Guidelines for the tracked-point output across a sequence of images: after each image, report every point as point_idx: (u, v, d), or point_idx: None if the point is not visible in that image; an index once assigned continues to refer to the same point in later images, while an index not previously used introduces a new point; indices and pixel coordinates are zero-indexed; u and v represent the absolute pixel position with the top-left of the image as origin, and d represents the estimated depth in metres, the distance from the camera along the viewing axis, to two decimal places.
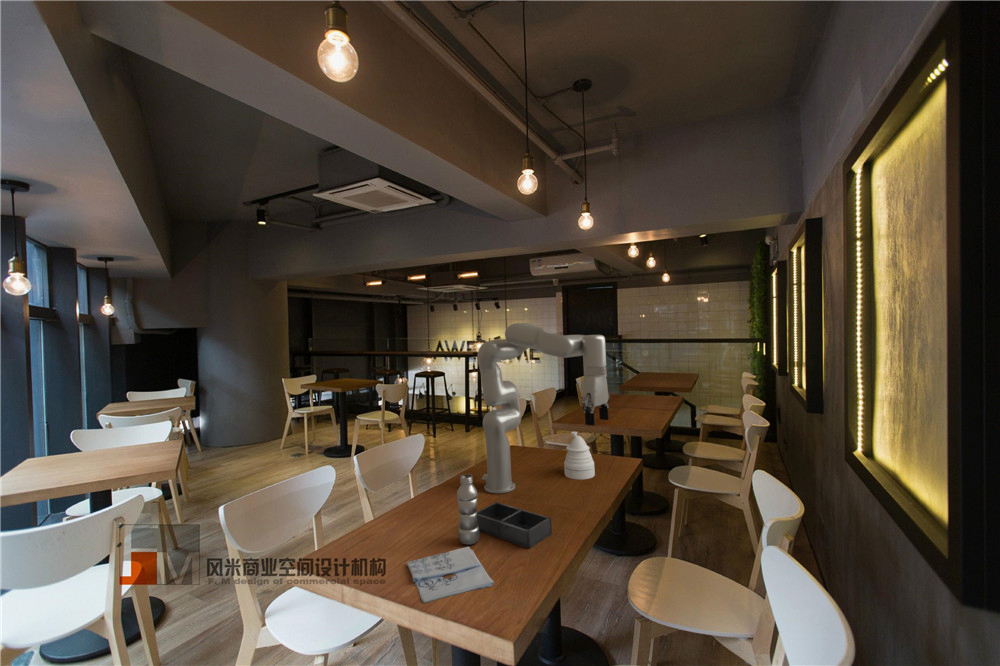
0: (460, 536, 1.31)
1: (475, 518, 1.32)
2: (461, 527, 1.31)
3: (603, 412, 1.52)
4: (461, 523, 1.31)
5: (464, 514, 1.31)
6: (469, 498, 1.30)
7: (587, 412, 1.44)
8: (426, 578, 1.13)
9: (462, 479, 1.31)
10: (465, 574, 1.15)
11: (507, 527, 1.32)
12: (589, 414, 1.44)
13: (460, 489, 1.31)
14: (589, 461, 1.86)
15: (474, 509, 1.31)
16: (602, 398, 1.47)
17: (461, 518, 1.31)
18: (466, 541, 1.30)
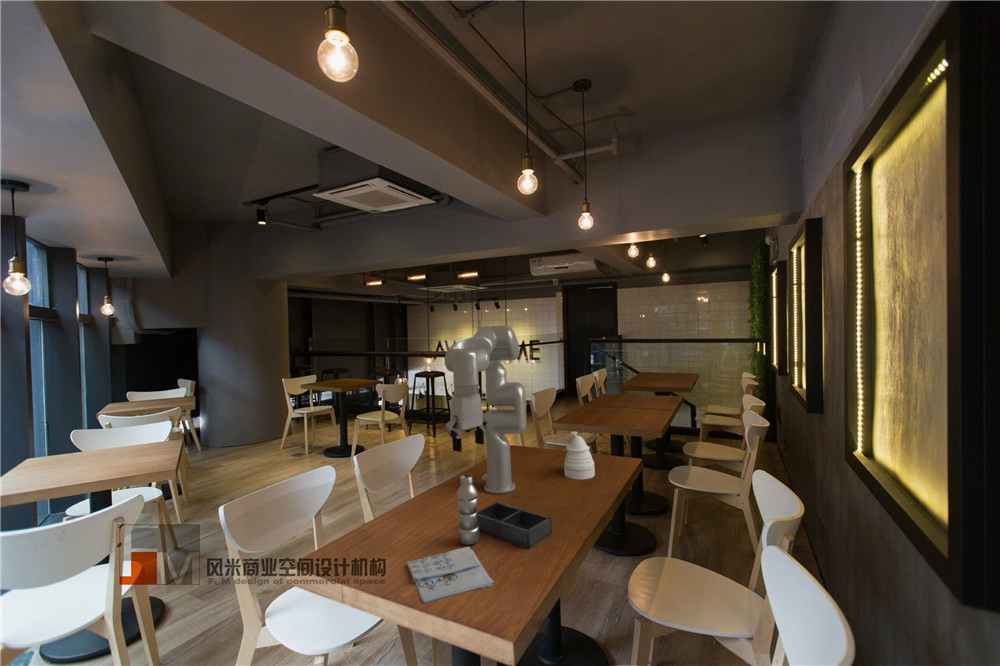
0: (460, 536, 1.31)
1: (475, 518, 1.32)
2: (461, 527, 1.31)
3: (478, 435, 1.37)
4: (461, 523, 1.31)
5: (464, 514, 1.31)
6: (469, 498, 1.30)
7: (453, 437, 1.28)
8: (426, 578, 1.13)
9: (462, 479, 1.31)
10: (465, 573, 1.15)
11: (507, 527, 1.32)
12: (455, 439, 1.28)
13: (460, 489, 1.31)
14: (589, 461, 1.86)
15: (474, 509, 1.31)
16: (473, 420, 1.32)
17: (461, 518, 1.31)
18: (466, 541, 1.30)
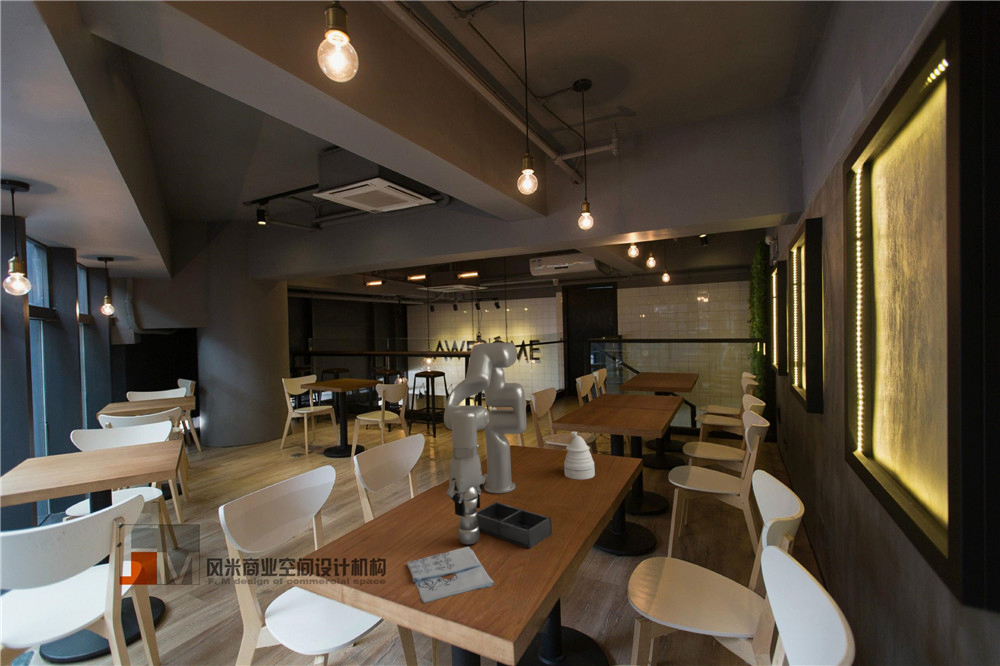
0: (460, 536, 1.31)
1: (475, 518, 1.32)
2: (461, 527, 1.31)
3: None
4: (461, 523, 1.31)
5: (464, 514, 1.31)
6: (469, 498, 1.30)
7: (455, 501, 1.29)
8: (426, 578, 1.13)
9: None
10: (465, 574, 1.15)
11: (507, 527, 1.32)
12: (457, 504, 1.29)
13: None
14: (589, 461, 1.86)
15: (474, 509, 1.31)
16: (472, 482, 1.31)
17: (461, 518, 1.31)
18: (466, 541, 1.30)
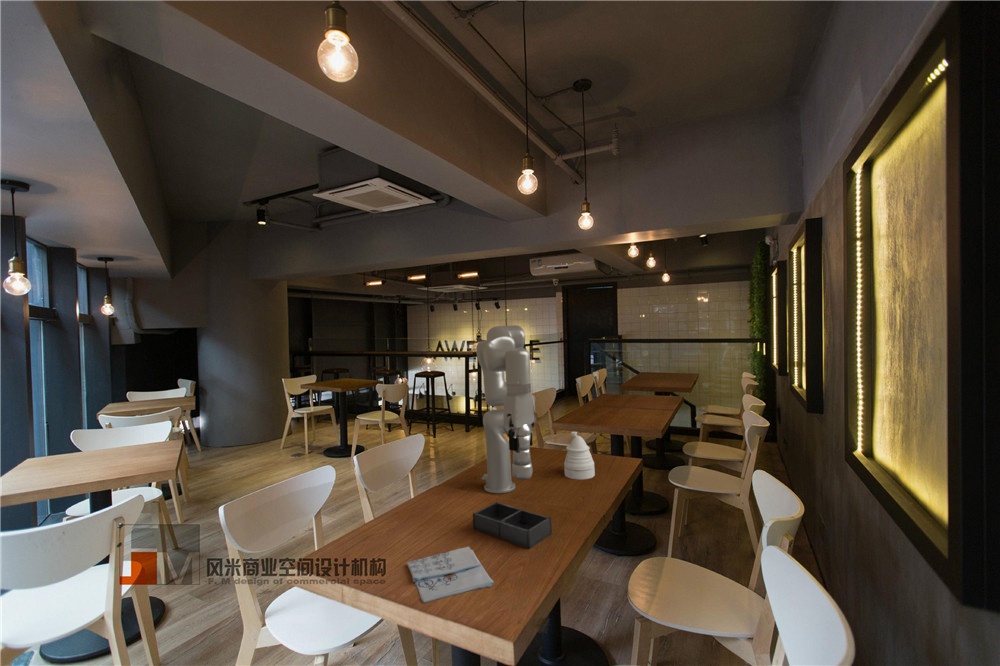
0: (514, 471, 1.33)
1: (529, 454, 1.34)
2: (515, 462, 1.33)
3: None
4: (515, 459, 1.33)
5: (518, 450, 1.33)
6: (524, 434, 1.32)
7: (510, 437, 1.32)
8: (426, 578, 1.13)
9: None
10: (465, 573, 1.15)
11: (507, 527, 1.32)
12: (512, 439, 1.32)
13: None
14: (589, 461, 1.86)
15: (528, 445, 1.34)
16: (526, 418, 1.34)
17: (515, 454, 1.34)
18: (520, 476, 1.32)
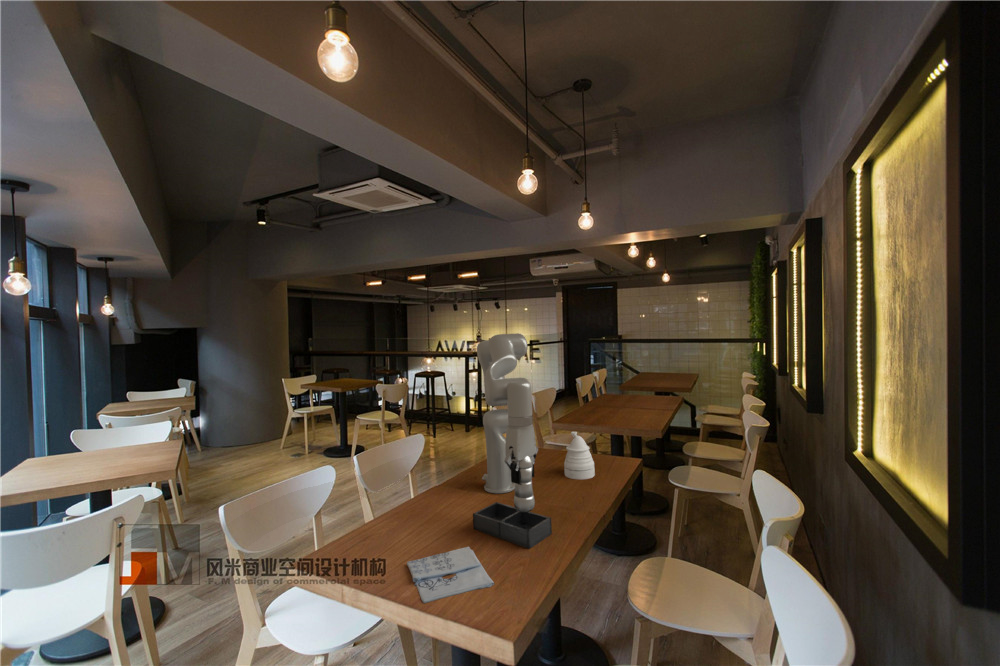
0: (516, 504, 1.33)
1: (531, 486, 1.34)
2: (517, 495, 1.33)
3: None
4: (517, 491, 1.33)
5: None
6: (526, 466, 1.32)
7: (512, 469, 1.32)
8: (426, 578, 1.13)
9: None
10: (465, 574, 1.15)
11: (507, 527, 1.32)
12: (514, 471, 1.32)
13: None
14: (589, 461, 1.86)
15: (530, 477, 1.34)
16: (527, 450, 1.34)
17: (517, 486, 1.33)
18: (523, 508, 1.32)
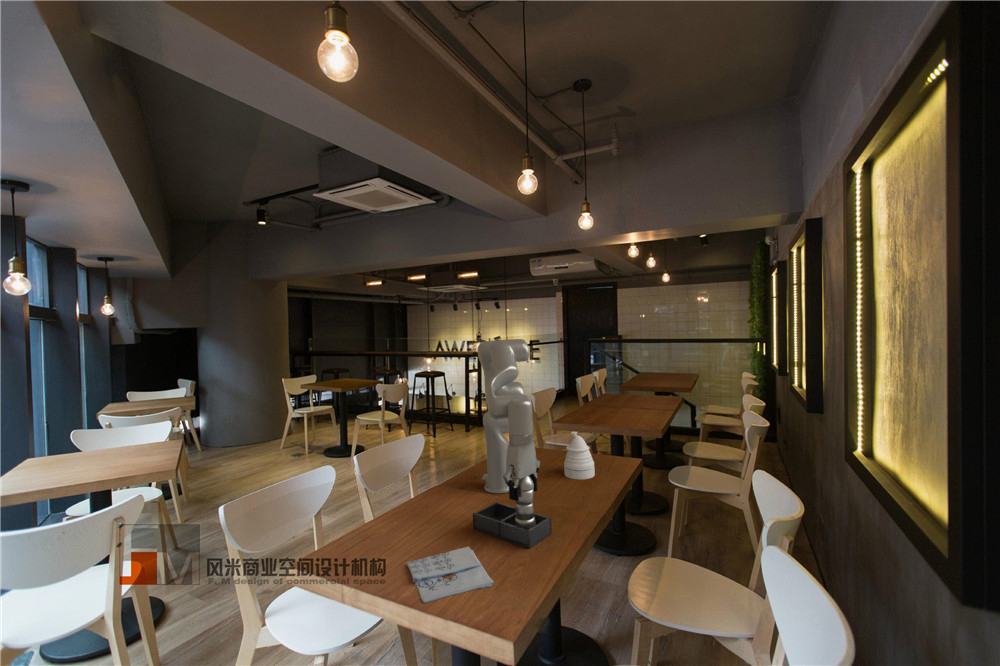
0: (517, 526, 1.34)
1: (532, 508, 1.35)
2: (518, 517, 1.34)
3: None
4: (518, 513, 1.34)
5: (521, 504, 1.33)
6: (527, 489, 1.33)
7: (510, 486, 1.31)
8: (426, 578, 1.13)
9: None
10: (465, 574, 1.15)
11: (507, 527, 1.32)
12: (512, 488, 1.31)
13: None
14: (589, 461, 1.86)
15: (531, 499, 1.34)
16: (528, 468, 1.34)
17: (518, 508, 1.34)
18: None
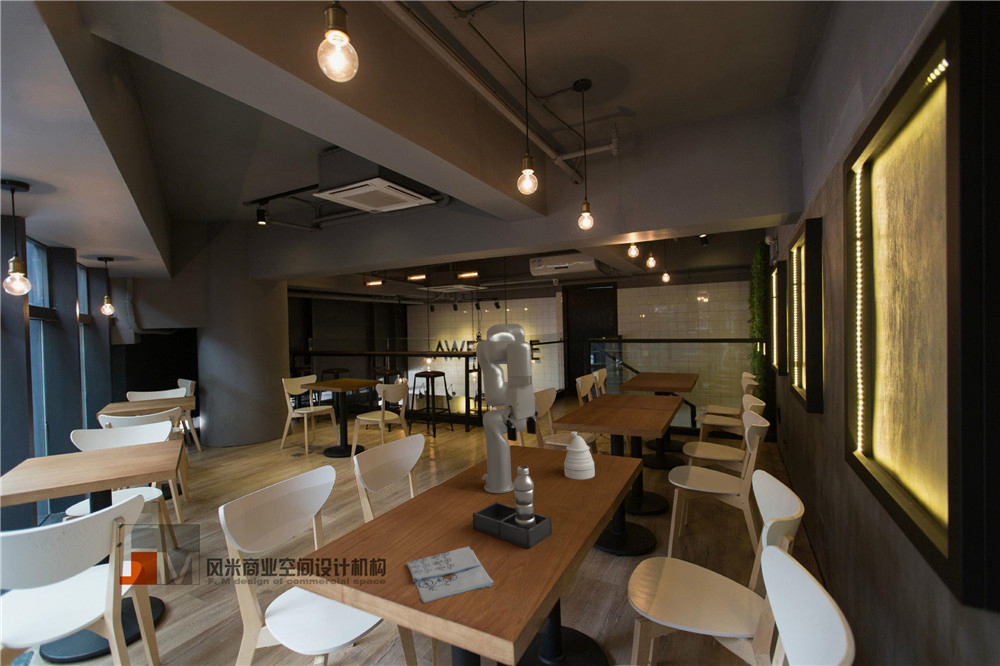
0: (517, 526, 1.34)
1: (532, 508, 1.35)
2: (518, 517, 1.34)
3: (530, 425, 1.39)
4: (518, 513, 1.34)
5: (521, 504, 1.33)
6: (527, 489, 1.33)
7: (508, 426, 1.31)
8: (426, 578, 1.13)
9: (519, 470, 1.34)
10: (465, 574, 1.15)
11: (507, 527, 1.32)
12: (510, 429, 1.31)
13: (517, 480, 1.34)
14: (589, 461, 1.86)
15: (531, 499, 1.34)
16: (527, 410, 1.35)
17: (518, 508, 1.34)
18: None
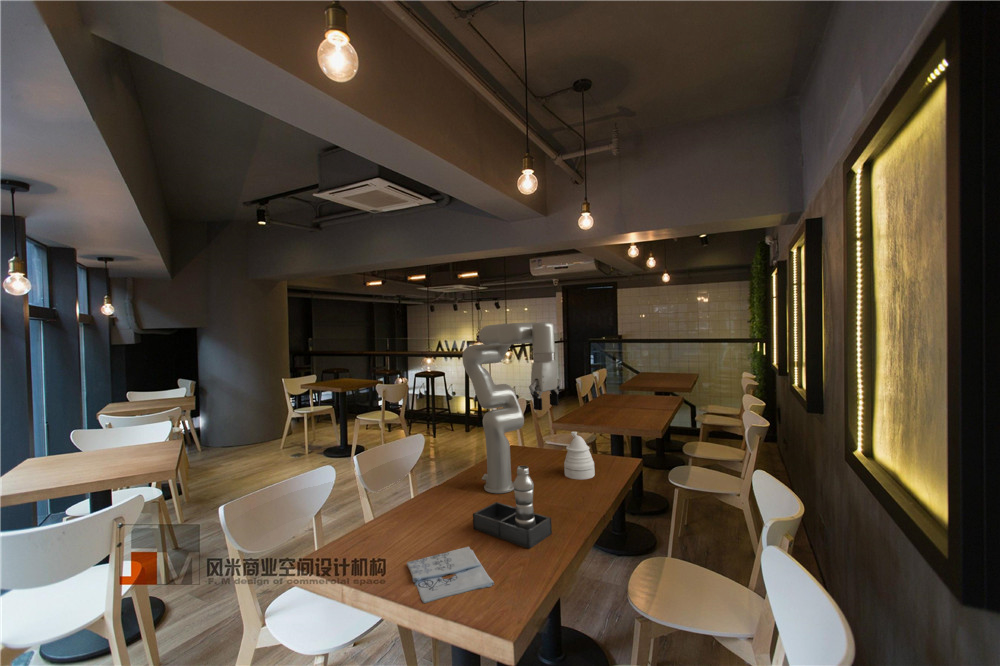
0: (517, 526, 1.34)
1: (532, 508, 1.35)
2: (518, 517, 1.34)
3: (553, 398, 1.55)
4: (518, 513, 1.34)
5: (521, 504, 1.33)
6: (527, 489, 1.33)
7: (535, 397, 1.47)
8: (426, 578, 1.13)
9: (519, 470, 1.34)
10: (465, 574, 1.15)
11: (507, 527, 1.32)
12: (537, 399, 1.47)
13: (517, 480, 1.34)
14: (589, 461, 1.86)
15: (531, 499, 1.34)
16: (551, 383, 1.50)
17: (518, 508, 1.34)
18: None
